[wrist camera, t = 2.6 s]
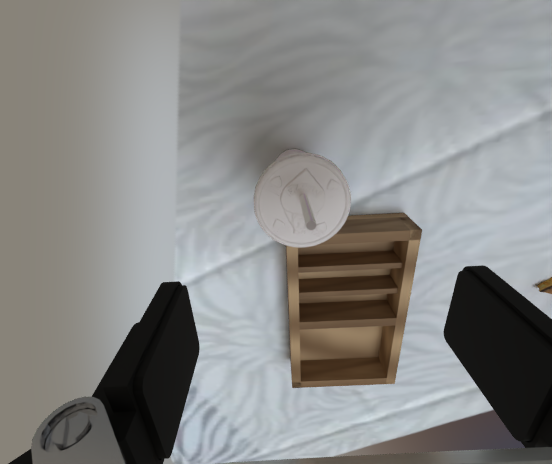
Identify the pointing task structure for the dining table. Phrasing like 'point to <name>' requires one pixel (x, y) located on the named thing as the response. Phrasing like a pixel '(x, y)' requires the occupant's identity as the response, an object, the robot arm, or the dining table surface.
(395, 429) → the dining table surface
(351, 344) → the wooden shelf
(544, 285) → the shard
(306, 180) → the smoothie
